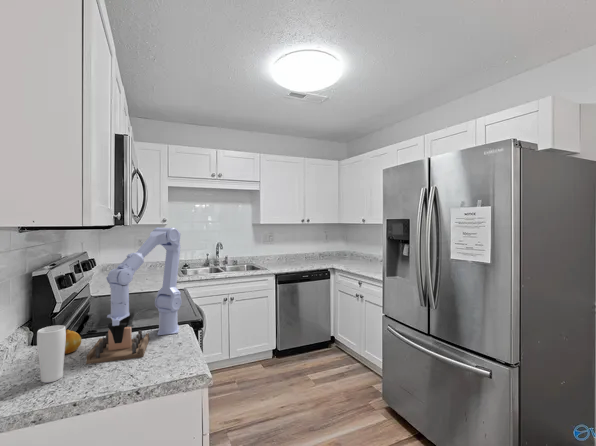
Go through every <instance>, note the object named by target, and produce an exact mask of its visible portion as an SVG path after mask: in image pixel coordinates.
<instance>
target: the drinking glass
mask: <svg viewBox="0 0 596 446" xmlns="http://www.w3.org/2000/svg"><path fill="white" fill-rule="evenodd" d="M66 330H67V329H66V325H63V324H62V325H60V324H58V325H51V326H50V325H49V326H46V327H42V328H39V329H38V330H37V332H36V347H37V355H38V363H39V372H40V373H39V374H40V381H41V382H42V383H45V384H47V383H53V382H56V381H59V380H60V379H62V378H63V376H64V365H65V363H64V362H65V344H66Z"/></svg>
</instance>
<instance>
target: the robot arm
mask: <svg viewBox="0 0 596 446" xmlns="http://www.w3.org/2000/svg"><path fill="white" fill-rule="evenodd" d="M181 235H182V234H181V232H180V231H179V230H178V228H176V227H155V228H153V230H152V231H150V233H149V237H148V238H147V239H146V240H145V241H144V243H143V244H142V245H141V246H140V247H139V249H138V250H137V251H136V252H130V253H128V254H127V255H126V258H125V259H124V260H123V261H122V262H120V263H119V264H118V265H117V267H116V268H112V269H111V270H110V271H109V272H108V274H107V276H106V278H105V279H106V282H107V283H108V284H109V288H110V313H109V314H107V316H106V318H108V319H111V322H110V323H108V324H107V328H108V330H109V329H110V331H111V333H112V335H113V339H114V342H115V344H116V343H122V340H123V333H124V329H125V327H129V324H130V323H129V322H130V320H131V317H132V315H131V314H130V288H129V287H130V283H131V282H132V281H133V277H134V275H135V273H136V272H137V270H138V269H139V268H140V267H141V266H142V265H143V264H144V262H145V260H144V259H145V258H146V256H148V255H149V253H151V252H152V251H153V250H154V249H155V248H156V247H157V246H162V247H163V248H164V249H165V251H166V253H165V259H164V269H163V280H162V287H160V288H159V290H158V291H157V295H156V297H155V299H154V306H155V308H157V311H158V331H157V336H163V335H164V336H165V335H174V334H175V335H176V334H178V333H179V328H180V325H179V324H178V321H179V320H178V311H179V309H180V308H181V306H182V297H181V294H182V292H181V291H180V290H179V288H177V283H178V273H179V263H180V254H181V242H180V241H181Z"/></svg>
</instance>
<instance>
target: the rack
mask: <svg viewBox="0 0 596 446" xmlns="http://www.w3.org/2000/svg"><path fill="white" fill-rule="evenodd" d="M137 332H138V333H137V334H135V335H136V338H132V346H131V348H124V349H115V350H109V347H108V333H105V337H102V338H99V339H98V340H97V341H96V342H95V344H94V345H93V346H92V348H91V349H90V351H89V352H88V353H87V354H86V357H85V358H86V360H85V364H86V365H91V364H98V363H99V364H100V363H105V362H106V363H107V362H115V361H121V360H129V359H137V358H144V356H145V353H146V351H147V347H148V345H149V342H150V333H148V332H147V333H145V335H144V337H143V330H142V329H140V330H138V331H137Z"/></svg>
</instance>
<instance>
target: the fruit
mask: <svg viewBox="0 0 596 446" xmlns="http://www.w3.org/2000/svg"><path fill="white" fill-rule="evenodd" d="M81 344H82V337H81V335H80V334H79V333H78V332H76V331H74V330H71V329H66V344H65V354H67V355H68V354H71V353H74V352H76V351H77V350H79V347H80V346H81Z"/></svg>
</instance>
